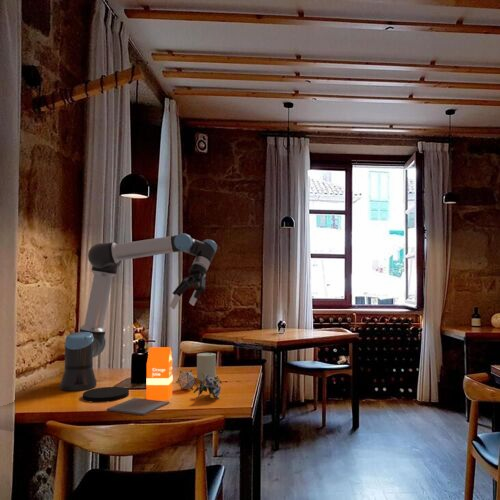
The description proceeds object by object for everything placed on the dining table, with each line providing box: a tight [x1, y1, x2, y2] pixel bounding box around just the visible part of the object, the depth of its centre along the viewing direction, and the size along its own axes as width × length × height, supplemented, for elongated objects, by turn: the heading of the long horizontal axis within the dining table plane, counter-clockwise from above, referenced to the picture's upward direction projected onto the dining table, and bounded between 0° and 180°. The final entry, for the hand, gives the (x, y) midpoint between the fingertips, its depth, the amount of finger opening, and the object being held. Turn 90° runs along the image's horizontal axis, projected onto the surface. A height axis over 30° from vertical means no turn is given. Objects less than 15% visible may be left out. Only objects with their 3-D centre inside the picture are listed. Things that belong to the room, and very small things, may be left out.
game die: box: [175, 369, 197, 392], centre depth 191 cm, size 9×8×10 cm
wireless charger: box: [82, 386, 130, 403], centre depth 181 cm, size 18×18×2 cm
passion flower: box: [193, 373, 223, 400], centre depth 177 cm, size 11×11×12 cm
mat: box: [106, 397, 170, 416], centre depth 165 cm, size 16×16×1 cm
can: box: [196, 352, 217, 382], centre depth 212 cm, size 9×9×12 cm
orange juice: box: [145, 346, 173, 402], centre depth 178 cm, size 8×9×20 cm
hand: (181, 305), depth 197 cm, fingers open, 13 cm apart
